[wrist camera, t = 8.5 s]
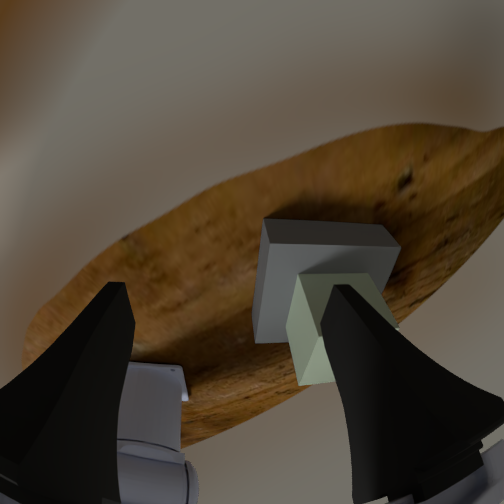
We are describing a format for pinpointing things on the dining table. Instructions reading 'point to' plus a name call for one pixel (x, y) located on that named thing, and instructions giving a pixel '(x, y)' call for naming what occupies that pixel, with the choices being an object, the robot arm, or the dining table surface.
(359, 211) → the dining table surface
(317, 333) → the green cube
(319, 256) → the gray plinth
